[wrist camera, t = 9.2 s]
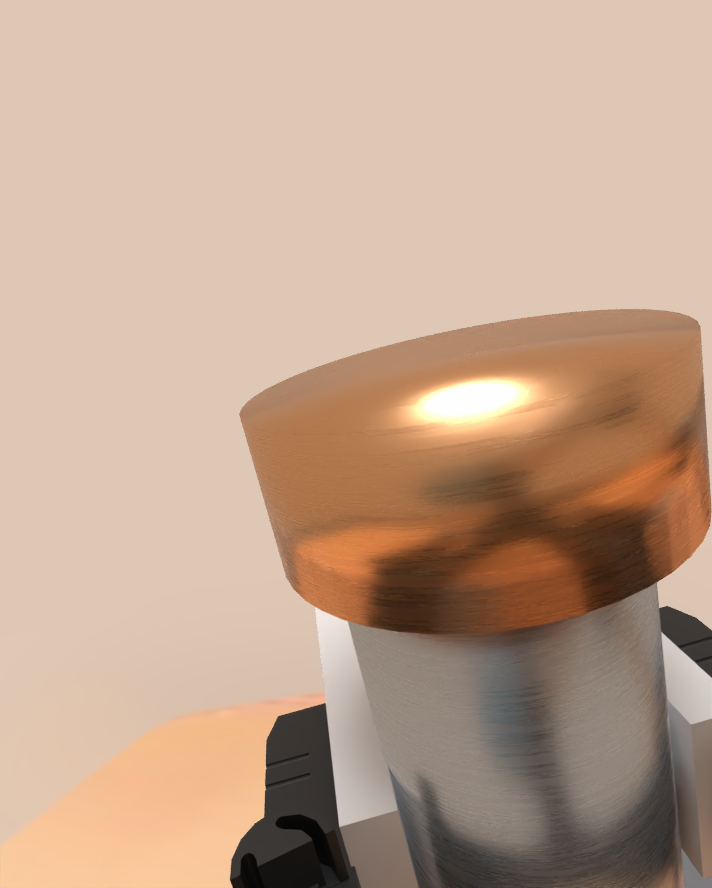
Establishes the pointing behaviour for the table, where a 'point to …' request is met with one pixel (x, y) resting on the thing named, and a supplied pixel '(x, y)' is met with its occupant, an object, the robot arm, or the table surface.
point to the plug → (505, 578)
